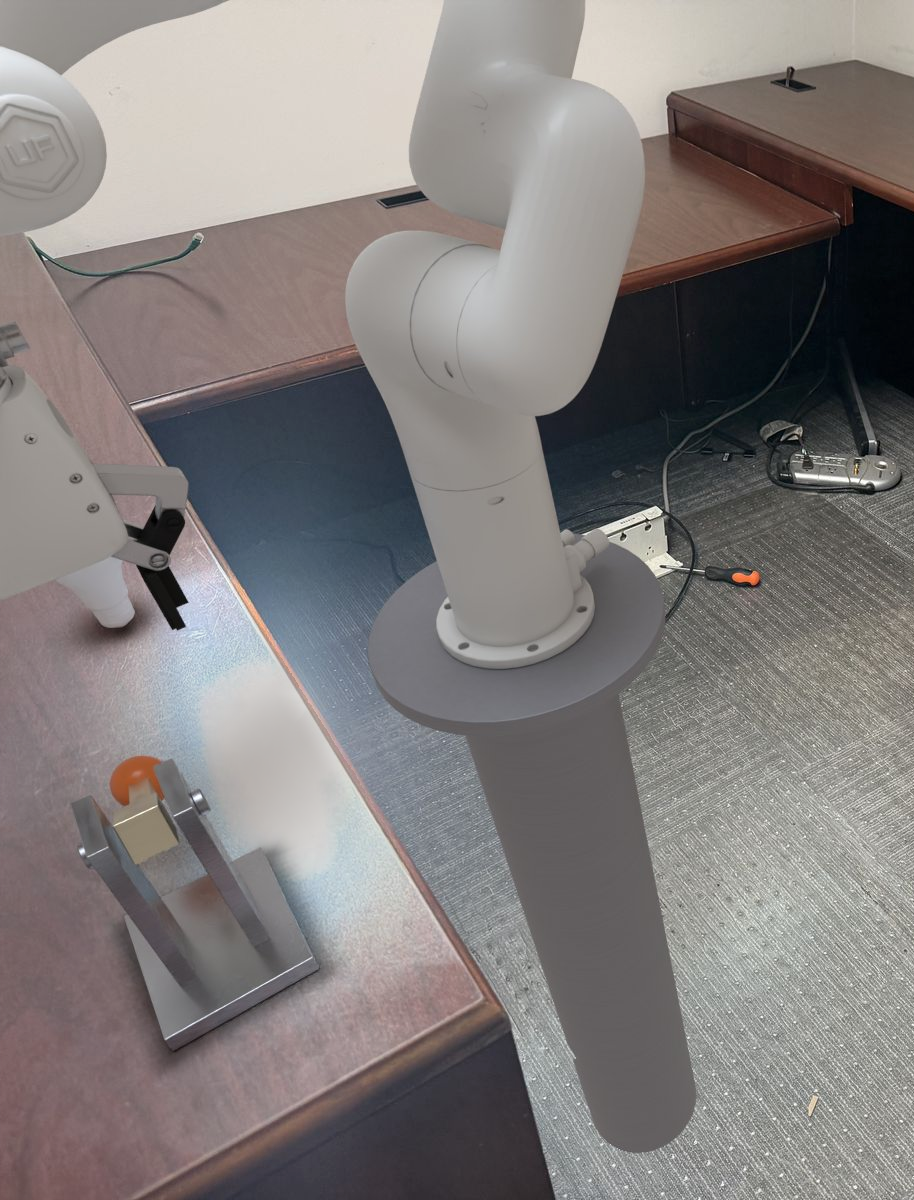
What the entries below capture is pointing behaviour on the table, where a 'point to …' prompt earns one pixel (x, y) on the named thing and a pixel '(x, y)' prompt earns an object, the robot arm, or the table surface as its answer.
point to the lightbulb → (102, 591)
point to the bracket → (199, 919)
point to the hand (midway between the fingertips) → (84, 655)
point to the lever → (141, 809)
